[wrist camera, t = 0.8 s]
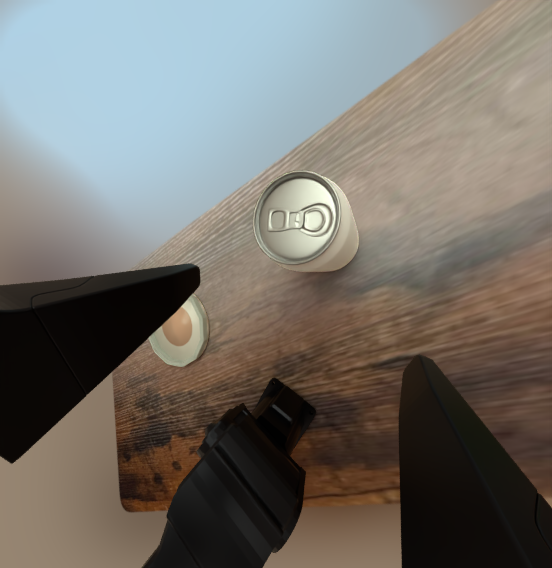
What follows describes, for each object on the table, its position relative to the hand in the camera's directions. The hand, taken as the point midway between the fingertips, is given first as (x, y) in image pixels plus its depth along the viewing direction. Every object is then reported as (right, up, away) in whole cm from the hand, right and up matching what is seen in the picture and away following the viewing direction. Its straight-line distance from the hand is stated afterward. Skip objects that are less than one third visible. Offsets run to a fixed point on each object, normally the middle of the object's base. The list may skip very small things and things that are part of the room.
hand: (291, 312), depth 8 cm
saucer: (-16, -5, +25) cm, 30 cm away
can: (+5, +6, +16) cm, 17 cm away
